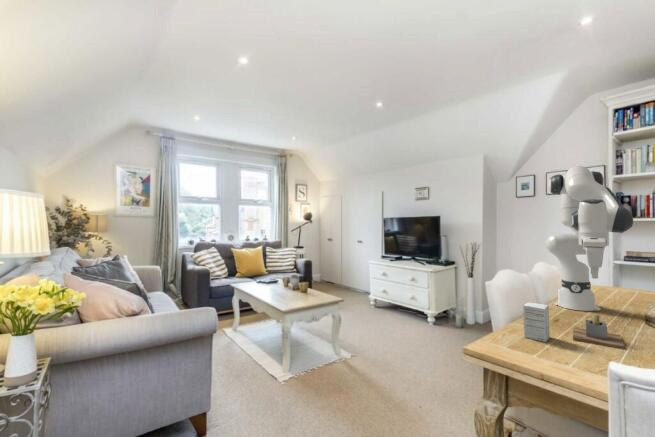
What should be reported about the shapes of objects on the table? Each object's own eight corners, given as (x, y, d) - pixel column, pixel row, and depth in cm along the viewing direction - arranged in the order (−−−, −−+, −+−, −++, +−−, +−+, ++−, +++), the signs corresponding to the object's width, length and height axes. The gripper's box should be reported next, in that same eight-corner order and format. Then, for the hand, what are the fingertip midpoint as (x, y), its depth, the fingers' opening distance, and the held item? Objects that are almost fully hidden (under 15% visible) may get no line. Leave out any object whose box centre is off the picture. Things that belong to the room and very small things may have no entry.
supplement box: (528, 332, 124) (527, 301, 124) (550, 337, 118) (549, 304, 119) (523, 337, 118) (522, 305, 119) (546, 342, 113) (545, 308, 113)
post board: (573, 329, 126) (572, 308, 126) (619, 337, 117) (618, 314, 117) (573, 339, 115) (572, 316, 115) (624, 349, 106) (623, 323, 106)
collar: (586, 332, 120) (585, 319, 121) (606, 335, 117) (606, 322, 117) (586, 336, 116) (586, 323, 116) (607, 340, 112) (607, 326, 112)
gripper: (582, 239, 127) (583, 272, 127) (583, 242, 111) (584, 279, 111) (602, 239, 123) (603, 273, 123) (606, 242, 107) (607, 281, 107)
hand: (594, 276), depth 117 cm, fingers open, 8 cm apart
